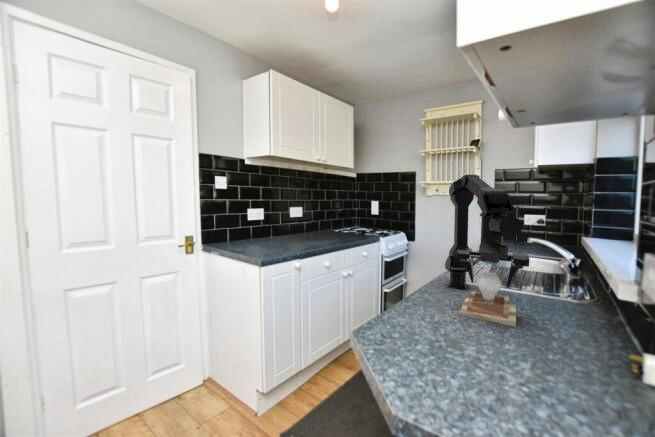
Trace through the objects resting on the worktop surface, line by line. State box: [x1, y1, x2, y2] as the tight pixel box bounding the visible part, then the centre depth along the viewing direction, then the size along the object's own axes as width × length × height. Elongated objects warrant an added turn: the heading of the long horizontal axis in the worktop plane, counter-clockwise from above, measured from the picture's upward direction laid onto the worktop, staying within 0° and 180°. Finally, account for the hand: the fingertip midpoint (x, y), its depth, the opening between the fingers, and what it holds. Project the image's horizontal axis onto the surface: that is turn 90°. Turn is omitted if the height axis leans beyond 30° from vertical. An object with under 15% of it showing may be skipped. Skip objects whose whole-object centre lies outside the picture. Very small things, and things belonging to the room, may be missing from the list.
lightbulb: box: [476, 271, 502, 304], centre depth 89 cm, size 6×6×11 cm
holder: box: [459, 290, 517, 328], centre depth 89 cm, size 14×14×4 cm
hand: (489, 284), depth 88 cm, fingers open, 9 cm apart
